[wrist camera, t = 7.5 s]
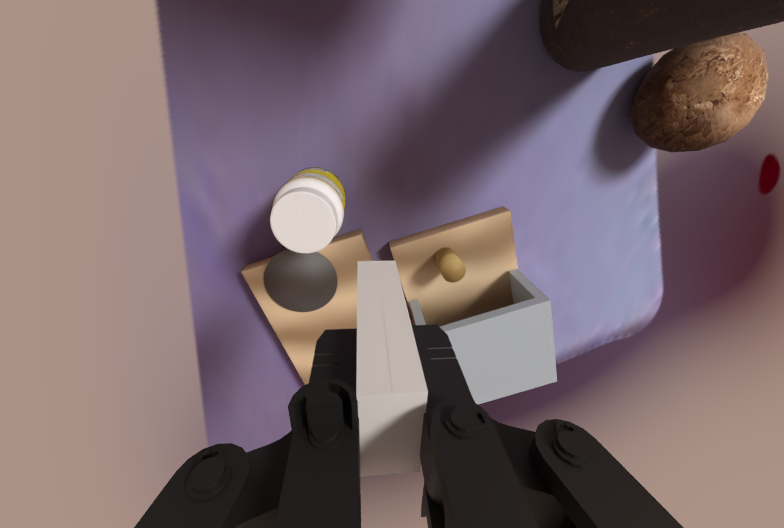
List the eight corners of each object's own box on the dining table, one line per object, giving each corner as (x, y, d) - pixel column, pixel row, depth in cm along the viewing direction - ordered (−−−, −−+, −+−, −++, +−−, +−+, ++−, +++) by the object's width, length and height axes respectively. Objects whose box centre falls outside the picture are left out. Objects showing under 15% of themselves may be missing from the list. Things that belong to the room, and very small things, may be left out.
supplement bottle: (318, 232, 28) (304, 274, 21) (277, 193, 26) (244, 222, 19) (357, 196, 27) (358, 226, 20) (317, 153, 25) (300, 167, 18)
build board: (242, 258, 28) (236, 265, 27) (358, 221, 28) (358, 227, 27) (314, 386, 36) (311, 398, 34) (407, 358, 35) (409, 369, 34)
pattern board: (388, 242, 29) (393, 261, 25) (503, 206, 29) (527, 220, 25) (428, 366, 36) (437, 398, 32) (521, 339, 36) (542, 367, 32)
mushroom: (776, 106, 24) (826, 90, 19) (657, 173, 29) (672, 174, 24) (712, 25, 25) (744, -12, 20) (606, 103, 29) (609, 89, 24)
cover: (409, 301, 30) (420, 339, 25) (516, 268, 30) (550, 300, 24) (430, 369, 34) (443, 414, 29) (526, 341, 33) (557, 381, 28)
